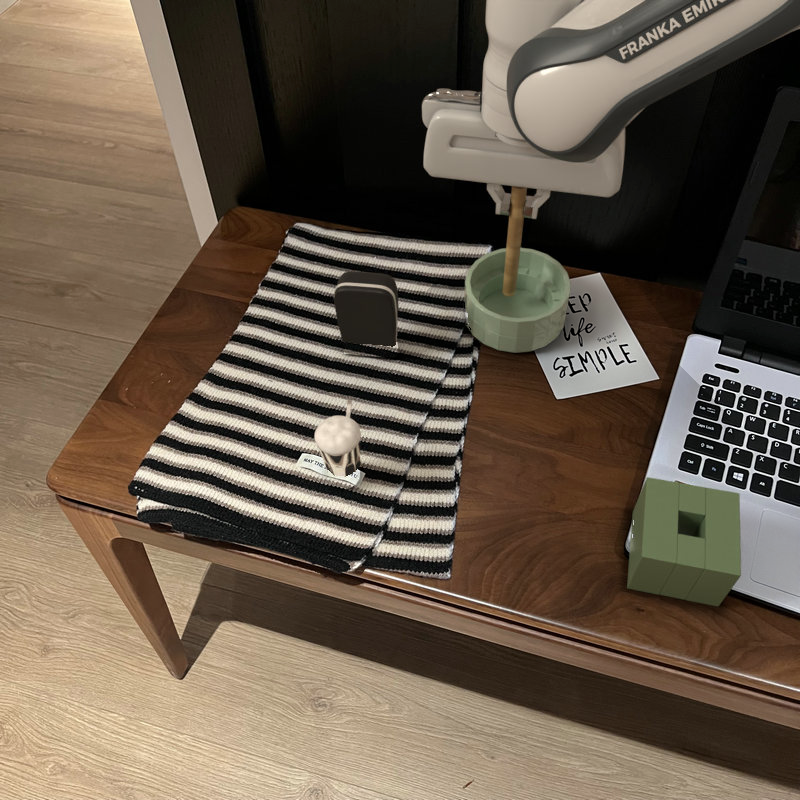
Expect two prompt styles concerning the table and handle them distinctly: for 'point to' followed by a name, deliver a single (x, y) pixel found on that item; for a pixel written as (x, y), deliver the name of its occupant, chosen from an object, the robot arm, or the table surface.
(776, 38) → the robot arm
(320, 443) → the milkshake
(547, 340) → the bowl
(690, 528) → the holder
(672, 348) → the table surface
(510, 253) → the stick
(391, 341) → the battery charger
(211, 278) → the table surface
